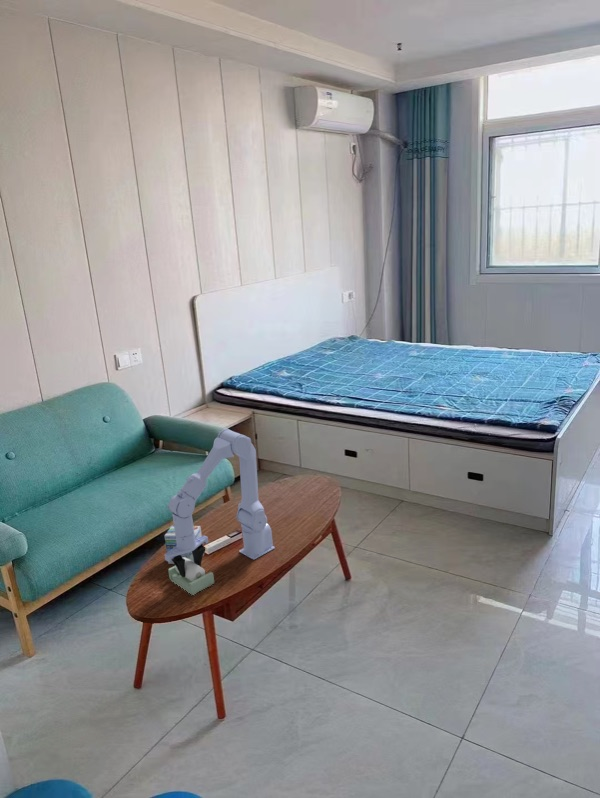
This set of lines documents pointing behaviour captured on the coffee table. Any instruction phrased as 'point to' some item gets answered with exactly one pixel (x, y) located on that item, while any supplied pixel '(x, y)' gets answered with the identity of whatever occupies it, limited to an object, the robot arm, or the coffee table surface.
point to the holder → (189, 585)
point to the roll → (192, 570)
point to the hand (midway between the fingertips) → (190, 571)
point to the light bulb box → (171, 542)
